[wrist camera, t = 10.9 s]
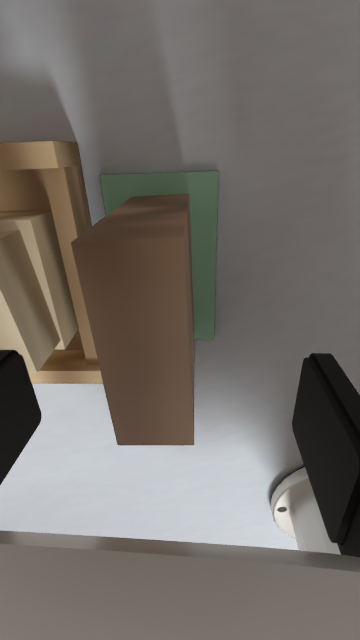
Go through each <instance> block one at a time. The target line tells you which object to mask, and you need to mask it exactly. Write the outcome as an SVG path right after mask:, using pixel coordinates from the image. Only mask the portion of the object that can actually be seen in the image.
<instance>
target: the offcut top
mask: <svg viewBox="0 0 360 640" xmlns="http://www.w3.org/2000/svg"><path fill="white" fill-rule="evenodd" d="M59 342H60V338H59V335H58V332H57V329H56V327H55V324H54V321H53V319H52V316H51V313H50V311H49V308H48V305H47V302H46V300H45V297H44V294H43V292H42V289H41V286H40V284H39V281H38V278H37V275H36V273H35V270H34V267H33V265H32V262H31V259H30V257H29V254H28V251H27V248H26V246H25V243H24V240H23V238H22V235H21V232H20V230H14V231H5V232H0V350H16V351H17V352H18V353H19V354H21V355H22V356H23V358H24V361H25V364H26V367H27V370H28V373H29V374H31V373H38V372H39V370H40V369H41V367H42V366H43V364H44V363H45V362H46V360H47V359H48V357H49V356H50V355H51V353H52V352H53V350H54V349H55V347H56V346H57V345H58V343H59Z"/></svg>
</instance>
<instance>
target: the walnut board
mask: <svg viewBox="0 0 360 640" xmlns="http://www.w3.org/2000/svg"><path fill="white" fill-rule="evenodd" d="M71 247H72V251H73V255H74V260H75V264H76V268H77V273H78V277H79V281H80V285H81V290H82V294H83V298H84V303H85V307H86V311H87V315H88V320H89V324H90V328H91V333H92V337H93V341H94V346H95V350H96V354H97V358H98V363H99V367H100V371H101V376H102V380H103V384H104V388H105V393H106V397H107V401H108V406H109V410H110V414H111V419H112V423H113V427H114V431H115V436H116V440H117V444H118V445H194V304H193V278H192V252H191V226H190V200H189V194H174V195H156V196H138V197H131V198H130V199H128V200H127V201H126V202H124V203H123V204H122V205H120V206H119V207H118V208H116V209H115V210H114V211H112V212H111V213H110V214H108V215H107V216H106V217H104V218H103V219H102V220H100V221H99V222H98V223H96V224H95V225H94V226H92V227H91V228H90V229H88V230H87V231H86V232H84V233H83V234H82V235H80V236H79V237H77V238H76V239H75V240H73V241H72V242H71Z"/></svg>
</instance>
